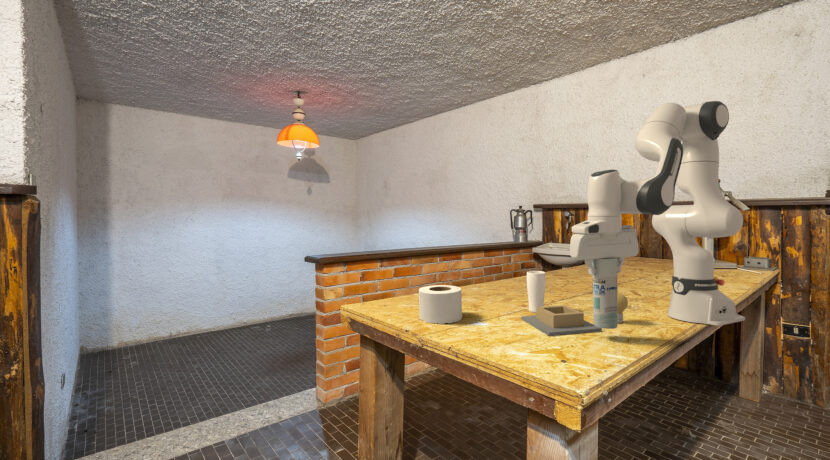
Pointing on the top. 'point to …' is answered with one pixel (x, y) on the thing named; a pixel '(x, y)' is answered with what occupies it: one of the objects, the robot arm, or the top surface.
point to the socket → (560, 321)
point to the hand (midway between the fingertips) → (604, 273)
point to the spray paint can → (605, 293)
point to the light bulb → (621, 306)
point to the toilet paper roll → (440, 304)
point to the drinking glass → (535, 289)
